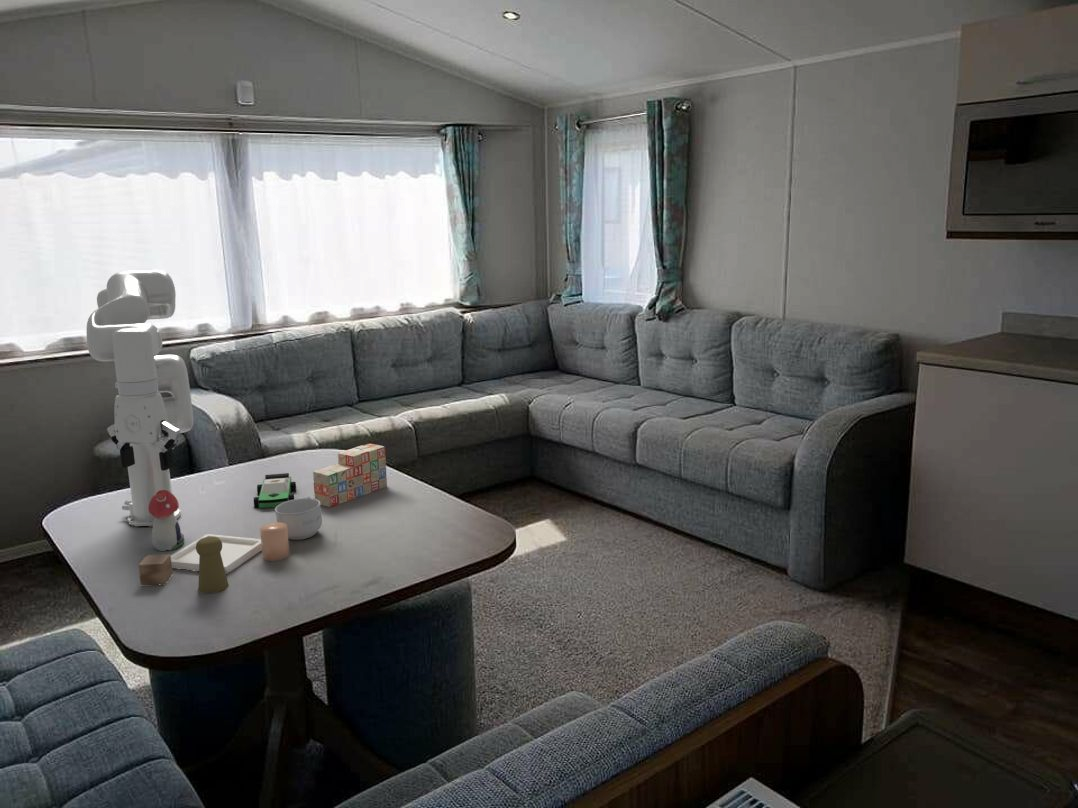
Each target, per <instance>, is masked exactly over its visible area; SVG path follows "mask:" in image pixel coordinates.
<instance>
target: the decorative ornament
mask: <svg viewBox="0 0 1078 808" xmlns="http://www.w3.org/2000/svg"><path fill="white" fill-rule="evenodd" d="M178 508H179V509H180V505H179V501H178V499H177V498H176V496H175V495H174V494H173V492H172V493H171V492H169V491H167V490H160V491H158V492H157V493H156V494H155V495H154V496H153V497H152V499H151V501H150V503H149V506H148V511H149V513H150V514H151V515H152V516H154V517H155V521H154V524H153V526H152V530H151V541H152V545H153V547H154V548H155V549H156V550H157V551H158V550H159V552H167V551H166V550H169V551H174V550H173V549H175V550H176V548H177V549H178V547H179V548H181V547H182V546H183V545H184V542H185V535H184V534H183V533H182V532H181V526H180V522H179V521H178V518H177V519H176V517H175V516H174V515H173V513H174V512H175V511H177V510H178ZM180 546H181V547H180Z"/></svg>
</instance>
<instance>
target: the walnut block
mask: <svg viewBox="0 0 1078 808" xmlns="http://www.w3.org/2000/svg"><path fill="white" fill-rule="evenodd" d="M171 555H172V554H171V553H170V554H147V555H146V556H145V557H144V558H143V559H142V560H141V561H140V562H139V564H138V573H139V581H140V586H141V585H158V586H163V585H162V584H166V582H167V581H168V580H169V578H170V577H171V575H172V574H174V573H173V569H172V564H171ZM171 578H172V577H171ZM171 578H170V579H171ZM169 581H170V580H169ZM169 581H168V582H169ZM168 582H167V583H168ZM159 584H161V585H159ZM166 585H167V584H166Z"/></svg>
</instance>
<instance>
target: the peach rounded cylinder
mask: <svg viewBox="0 0 1078 808" xmlns="http://www.w3.org/2000/svg"><path fill="white" fill-rule="evenodd" d="M259 530H260V531H259V532H260V533H259V534H260V539H261V545H262V550H261V553H262V554H261V555H262V559H263V560H265V561H268V562H269V561H270V562H275V561H276V562H277V561H280V560H284V559H287V558H288V557H290V543H289V538H288V529H287V524H285V523H279V522H277V521H276V522H270V523H267V524H266V523H265V524H264V525H261V526H260V527H259Z"/></svg>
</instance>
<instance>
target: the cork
mask: <svg viewBox="0 0 1078 808" xmlns="http://www.w3.org/2000/svg"><path fill="white" fill-rule="evenodd" d="M199 539H200V538H199ZM221 550H222V542H221V540H220V539H219V538H218V537H205V538H202V539H200V540H199V541H198V542H197V544H196V551H197V553H198V554H199V555H200V557H199V572H198V589H197V590H198V592H199V591H200V592H199V593H201V592H202V593H201V594H215V593H219V592H223V591H224V590H226V589H227V588H228V587H229V581H228V577H227V575H226V573H225V569H224V565H223V561H222V557H221V553H220V552H221Z"/></svg>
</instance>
